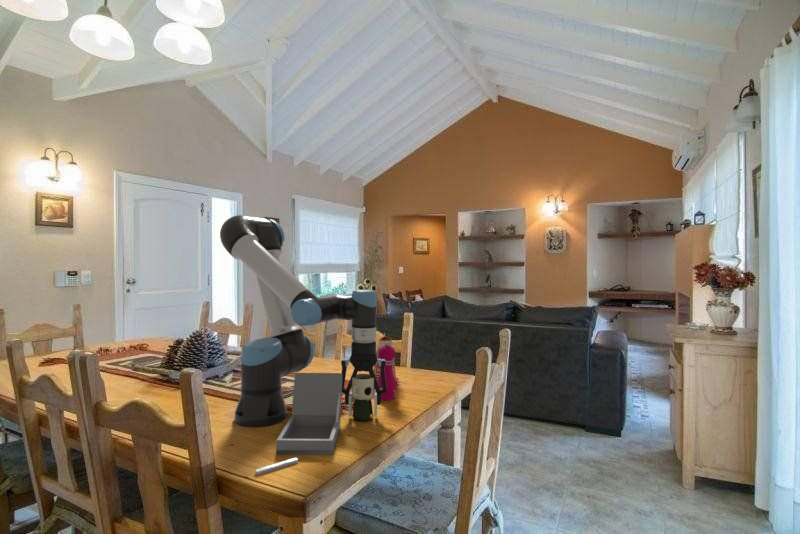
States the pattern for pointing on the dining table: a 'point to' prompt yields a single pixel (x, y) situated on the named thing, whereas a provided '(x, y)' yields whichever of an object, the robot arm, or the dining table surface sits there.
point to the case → (313, 415)
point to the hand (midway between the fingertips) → (362, 414)
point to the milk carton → (376, 366)
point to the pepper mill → (388, 371)
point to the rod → (276, 466)
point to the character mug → (362, 396)
